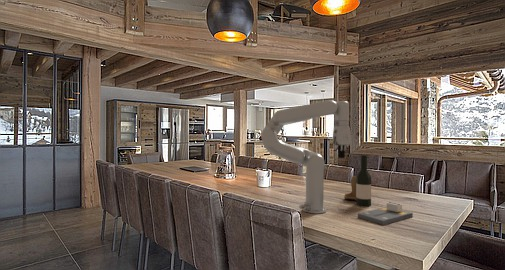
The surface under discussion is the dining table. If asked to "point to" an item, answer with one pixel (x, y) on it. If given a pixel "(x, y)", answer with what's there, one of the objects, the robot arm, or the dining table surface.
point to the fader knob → (394, 206)
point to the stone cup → (353, 194)
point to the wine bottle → (363, 184)
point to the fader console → (384, 216)
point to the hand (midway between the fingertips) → (341, 157)
